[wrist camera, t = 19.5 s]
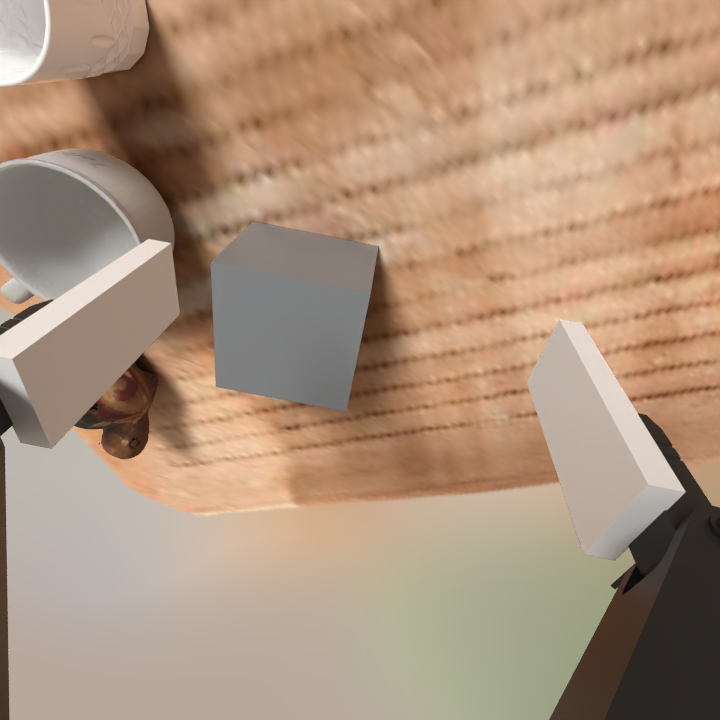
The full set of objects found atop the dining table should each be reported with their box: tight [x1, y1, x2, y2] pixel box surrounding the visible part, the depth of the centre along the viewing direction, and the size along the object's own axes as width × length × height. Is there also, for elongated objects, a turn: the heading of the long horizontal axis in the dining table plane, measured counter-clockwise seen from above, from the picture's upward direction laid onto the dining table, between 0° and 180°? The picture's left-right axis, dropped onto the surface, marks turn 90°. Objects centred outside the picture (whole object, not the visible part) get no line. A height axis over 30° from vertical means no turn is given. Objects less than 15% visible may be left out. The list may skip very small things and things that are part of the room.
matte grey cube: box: [211, 221, 379, 412], centre depth 32 cm, size 10×10×9 cm
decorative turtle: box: [74, 362, 158, 459], centre depth 40 cm, size 10×15×8 cm, turn 31°
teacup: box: [0, 149, 175, 304], centre depth 31 cm, size 14×11×8 cm
